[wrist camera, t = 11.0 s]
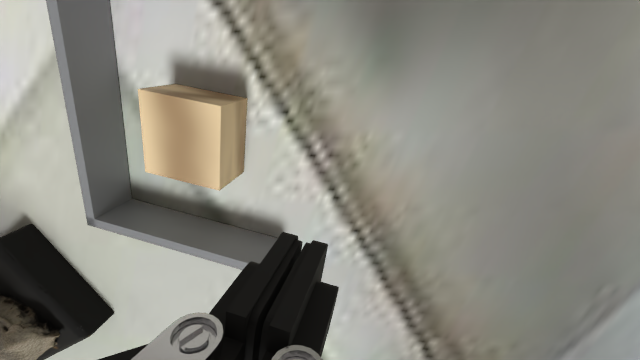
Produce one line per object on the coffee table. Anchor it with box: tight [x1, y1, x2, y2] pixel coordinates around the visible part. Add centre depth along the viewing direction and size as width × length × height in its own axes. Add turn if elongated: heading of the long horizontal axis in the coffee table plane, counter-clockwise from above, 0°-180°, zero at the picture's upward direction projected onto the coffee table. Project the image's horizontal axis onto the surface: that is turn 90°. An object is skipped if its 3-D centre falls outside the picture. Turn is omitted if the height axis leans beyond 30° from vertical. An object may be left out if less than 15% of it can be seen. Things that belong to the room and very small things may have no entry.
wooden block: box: [138, 84, 247, 191], centre depth 23 cm, size 6×6×4 cm
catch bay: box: [46, 0, 278, 270], centre depth 23 cm, size 16×20×4 cm
